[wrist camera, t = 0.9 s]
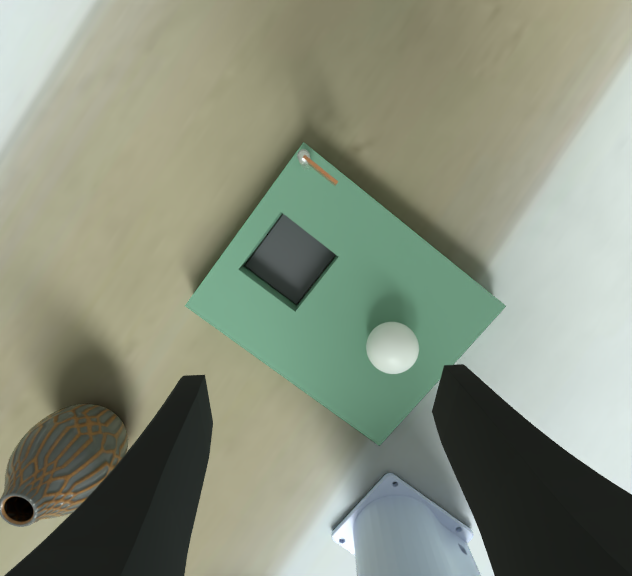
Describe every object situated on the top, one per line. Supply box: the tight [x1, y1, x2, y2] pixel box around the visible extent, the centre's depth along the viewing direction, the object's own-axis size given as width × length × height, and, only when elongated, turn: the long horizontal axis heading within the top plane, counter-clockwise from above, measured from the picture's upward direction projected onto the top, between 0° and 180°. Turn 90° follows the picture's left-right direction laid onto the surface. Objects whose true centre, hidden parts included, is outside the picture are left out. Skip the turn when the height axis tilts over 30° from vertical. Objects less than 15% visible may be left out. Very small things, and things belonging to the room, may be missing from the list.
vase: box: [0, 404, 128, 527], centre depth 27 cm, size 7×7×9 cm
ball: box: [366, 322, 419, 374], centre depth 26 cm, size 4×4×4 cm
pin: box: [297, 149, 338, 186], centre depth 24 cm, size 3×1×6 cm, turn 52°
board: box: [185, 142, 506, 446], centre depth 28 cm, size 18×14×2 cm
